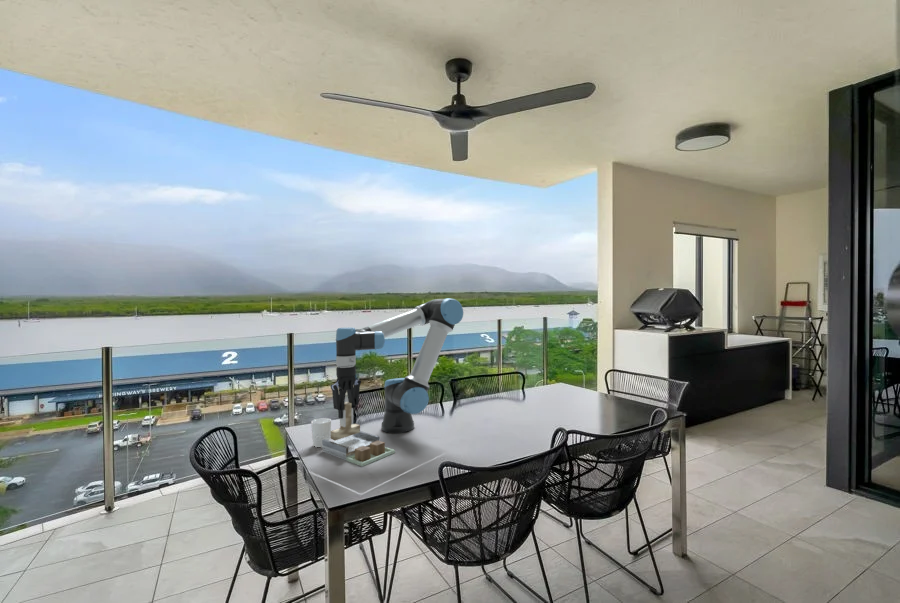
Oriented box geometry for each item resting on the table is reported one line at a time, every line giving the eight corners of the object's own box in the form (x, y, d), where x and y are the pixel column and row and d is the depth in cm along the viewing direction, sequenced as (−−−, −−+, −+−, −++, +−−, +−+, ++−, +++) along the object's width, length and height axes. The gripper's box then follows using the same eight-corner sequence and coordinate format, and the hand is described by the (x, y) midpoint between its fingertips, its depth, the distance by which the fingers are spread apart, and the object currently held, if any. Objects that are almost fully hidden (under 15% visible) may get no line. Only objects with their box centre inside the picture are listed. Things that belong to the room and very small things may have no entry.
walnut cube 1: (363, 445, 148) (370, 447, 145) (363, 456, 148) (370, 458, 145) (354, 448, 145) (361, 451, 142) (354, 459, 145) (361, 462, 142)
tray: (379, 448, 157) (379, 445, 157) (395, 453, 151) (394, 449, 151) (346, 461, 144) (346, 457, 144) (362, 467, 139) (362, 463, 139)
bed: (355, 441, 166) (355, 429, 166) (379, 448, 157) (379, 436, 157) (322, 452, 153) (322, 439, 154) (346, 461, 144) (346, 448, 144)
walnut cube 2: (377, 440, 153) (384, 442, 151) (377, 450, 153) (384, 452, 151) (369, 443, 150) (376, 445, 148) (370, 453, 150) (376, 456, 148)
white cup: (335, 443, 164) (335, 419, 164) (320, 449, 157) (320, 424, 157) (322, 440, 168) (322, 417, 168) (307, 446, 161) (307, 421, 161)
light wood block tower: (355, 430, 163) (355, 399, 163) (359, 432, 161) (360, 400, 161) (330, 438, 153) (331, 405, 153) (335, 440, 151) (335, 407, 151)
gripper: (334, 369, 148) (335, 432, 148) (367, 364, 161) (368, 421, 161) (323, 368, 153) (323, 428, 153) (356, 363, 166) (356, 418, 165)
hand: (346, 424), depth 157 cm, fingers closed on light wood block tower, 3 cm apart
